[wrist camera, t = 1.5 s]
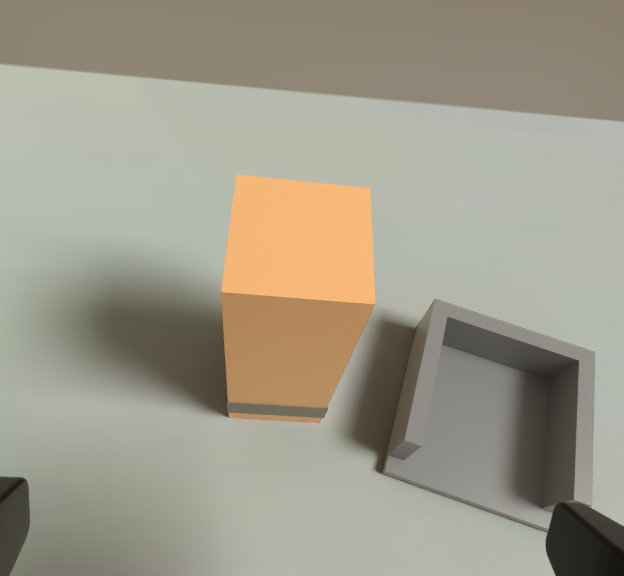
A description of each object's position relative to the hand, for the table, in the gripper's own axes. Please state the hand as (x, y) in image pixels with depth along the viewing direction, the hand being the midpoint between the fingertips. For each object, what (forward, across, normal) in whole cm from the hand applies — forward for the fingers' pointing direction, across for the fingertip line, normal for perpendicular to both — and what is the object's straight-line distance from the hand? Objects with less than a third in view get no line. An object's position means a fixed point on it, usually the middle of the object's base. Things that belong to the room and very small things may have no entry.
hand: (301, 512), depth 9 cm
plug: (+14, 0, +4) cm, 15 cm away
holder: (+13, -9, +5) cm, 17 cm away
